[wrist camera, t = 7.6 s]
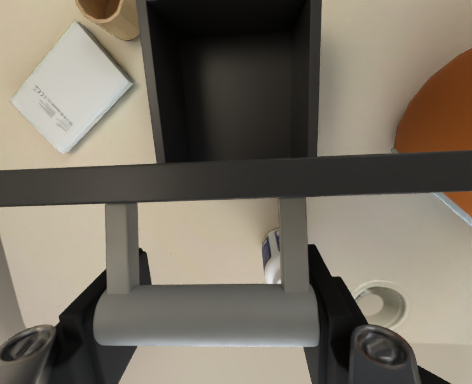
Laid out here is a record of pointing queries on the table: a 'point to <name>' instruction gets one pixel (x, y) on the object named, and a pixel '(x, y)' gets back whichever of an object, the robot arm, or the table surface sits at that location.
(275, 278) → the pill bottle
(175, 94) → the open storage box
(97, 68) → the hard drive
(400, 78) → the table surface
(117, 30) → the wooden cup
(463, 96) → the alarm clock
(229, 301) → the lid
